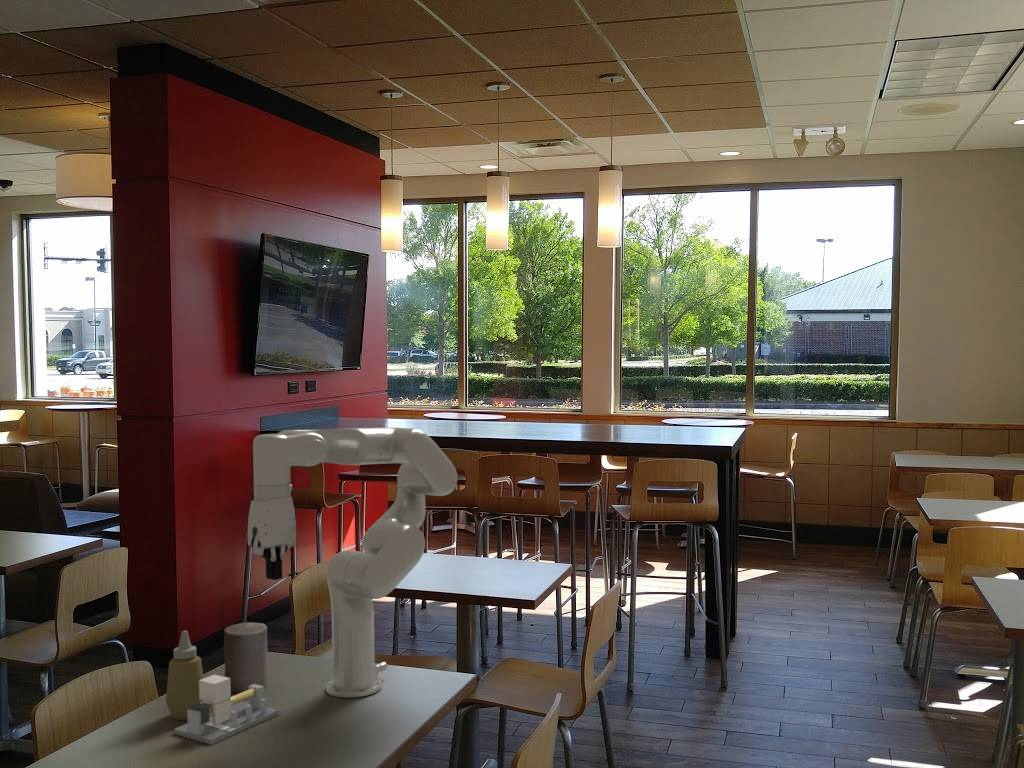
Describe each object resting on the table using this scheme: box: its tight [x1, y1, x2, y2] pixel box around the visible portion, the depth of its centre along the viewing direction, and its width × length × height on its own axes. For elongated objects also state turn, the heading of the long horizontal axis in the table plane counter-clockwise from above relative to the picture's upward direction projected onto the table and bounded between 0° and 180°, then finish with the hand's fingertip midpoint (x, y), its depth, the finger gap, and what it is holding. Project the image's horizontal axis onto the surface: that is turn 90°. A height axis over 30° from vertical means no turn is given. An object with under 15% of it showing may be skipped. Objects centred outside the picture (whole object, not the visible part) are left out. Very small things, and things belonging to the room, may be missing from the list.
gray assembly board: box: [173, 684, 280, 746], centre depth 192 cm, size 18×11×6 cm, turn 148°
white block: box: [199, 674, 232, 725], centre depth 190 cm, size 4×5×8 cm
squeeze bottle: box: [165, 630, 205, 721], centre depth 197 cm, size 8×8×18 cm
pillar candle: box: [223, 622, 269, 694], centre depth 215 cm, size 10×10×15 cm
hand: (274, 578), depth 197 cm, fingers closed
